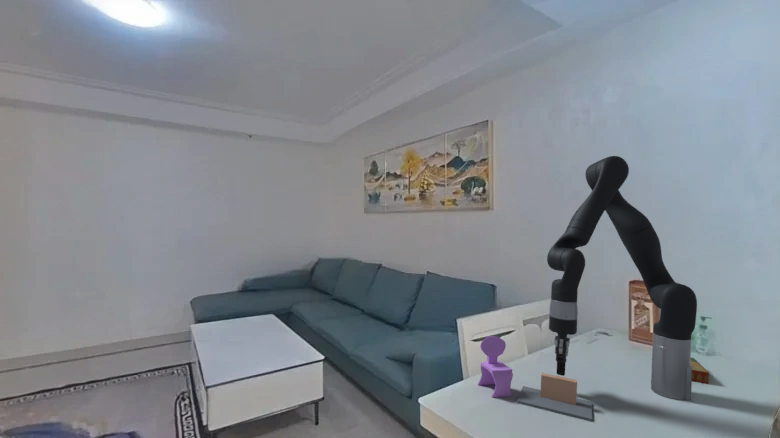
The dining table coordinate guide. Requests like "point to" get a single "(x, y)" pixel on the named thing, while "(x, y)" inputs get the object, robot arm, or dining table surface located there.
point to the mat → (555, 404)
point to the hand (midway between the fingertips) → (560, 374)
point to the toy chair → (495, 367)
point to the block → (558, 388)
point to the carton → (699, 372)
